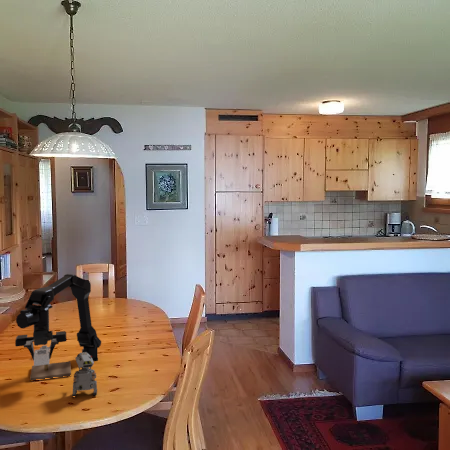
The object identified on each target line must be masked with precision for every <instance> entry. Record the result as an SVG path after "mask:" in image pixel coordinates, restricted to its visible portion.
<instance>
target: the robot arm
mask: <svg viewBox="0 0 450 450" xmlns="http://www.w3.org/2000/svg"><path fill="white" fill-rule="evenodd" d="M67 288H70V291H71V293H72V295H73V297H74V298H75V299H76V304H77V312H78V318H79V325H80V326H79V327H80V328H79V330H78V332H77V333H76V338H77V339H76V341H77V342H78V344H79V347H81V348H83V349H81V353H83V352H87V353H88V354H89V355H90V356H92V358H93V361H94V362H95V361H98V360H99V357H98V353H99V352H98V348H99V349H100V347H101V345H102V340H101V339H100V338H99V337H98V334H97V330H96V329H95V328H94V327H93V325H92V317H91V310H90V301H89V295H90V294H91V292H92V289H91V288H92V285H91V282H90V281H89V280H88V279H84V278H83V277H82V278H81V277H80V276H78V275H76V274H71V273H67V274H64V275H63V276H62V277H61V278H59V279H57V280H56V281H54V282H52V283H51V284H49V285H48V286H44V287H40V288H36V289H34V290H32V291H31V293H30V295H29V297H28V300H27V302H26V304H25V306H24V309H21V310H20V313H19V314H18V315H17V316H16V319H15V322H16V325H17V327H18V328H19V329H22V330H23V329H25V328H28V327H33V332H32V336H28V334H19V335H17V336H16V338H15V340H14V341H15V342H14V343H15V344H14V345H15V347H23V348H25V349H26V348H27V351H28V352H29V353H30V356H31V359H32V360H33V362H34V352H35V349H34V346H35V347H36V346H37V347H38V346H46V345H48V342H50V345H51V346H50V345H49V347H50V354H49V359H51V358H52V354H53V351H54V349H55V347H56V345H59V344H60V343H65V342H67V332H66V331H65V330H63V331H56V333H55V334H53V333H54V332H53V330H50V309H53V305H52V304H51V302H53V301H54V300H55V297H56V296H57V295H58V294H60V293H61V292H63V291H64V290H65V289H67Z"/></svg>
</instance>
